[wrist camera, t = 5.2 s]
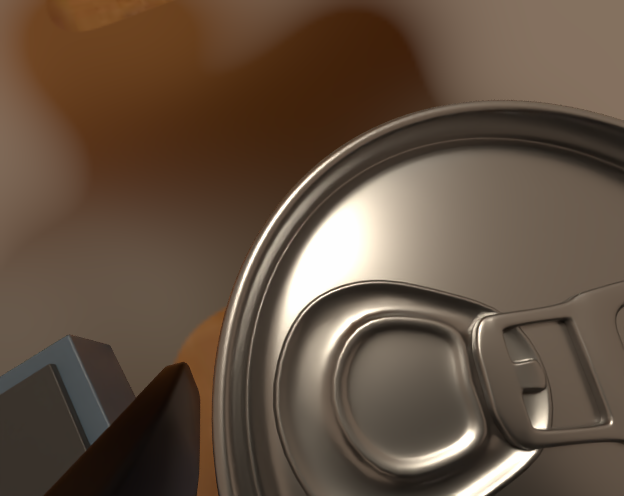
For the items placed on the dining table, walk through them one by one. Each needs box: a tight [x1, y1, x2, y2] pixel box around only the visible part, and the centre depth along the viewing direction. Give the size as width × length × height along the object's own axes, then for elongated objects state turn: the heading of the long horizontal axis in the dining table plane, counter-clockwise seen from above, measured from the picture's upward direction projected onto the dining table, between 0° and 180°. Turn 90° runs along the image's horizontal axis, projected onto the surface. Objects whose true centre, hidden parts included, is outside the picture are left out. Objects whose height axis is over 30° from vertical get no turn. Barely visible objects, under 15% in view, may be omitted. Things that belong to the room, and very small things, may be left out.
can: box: [212, 100, 624, 496], centre depth 8 cm, size 6×6×12 cm
